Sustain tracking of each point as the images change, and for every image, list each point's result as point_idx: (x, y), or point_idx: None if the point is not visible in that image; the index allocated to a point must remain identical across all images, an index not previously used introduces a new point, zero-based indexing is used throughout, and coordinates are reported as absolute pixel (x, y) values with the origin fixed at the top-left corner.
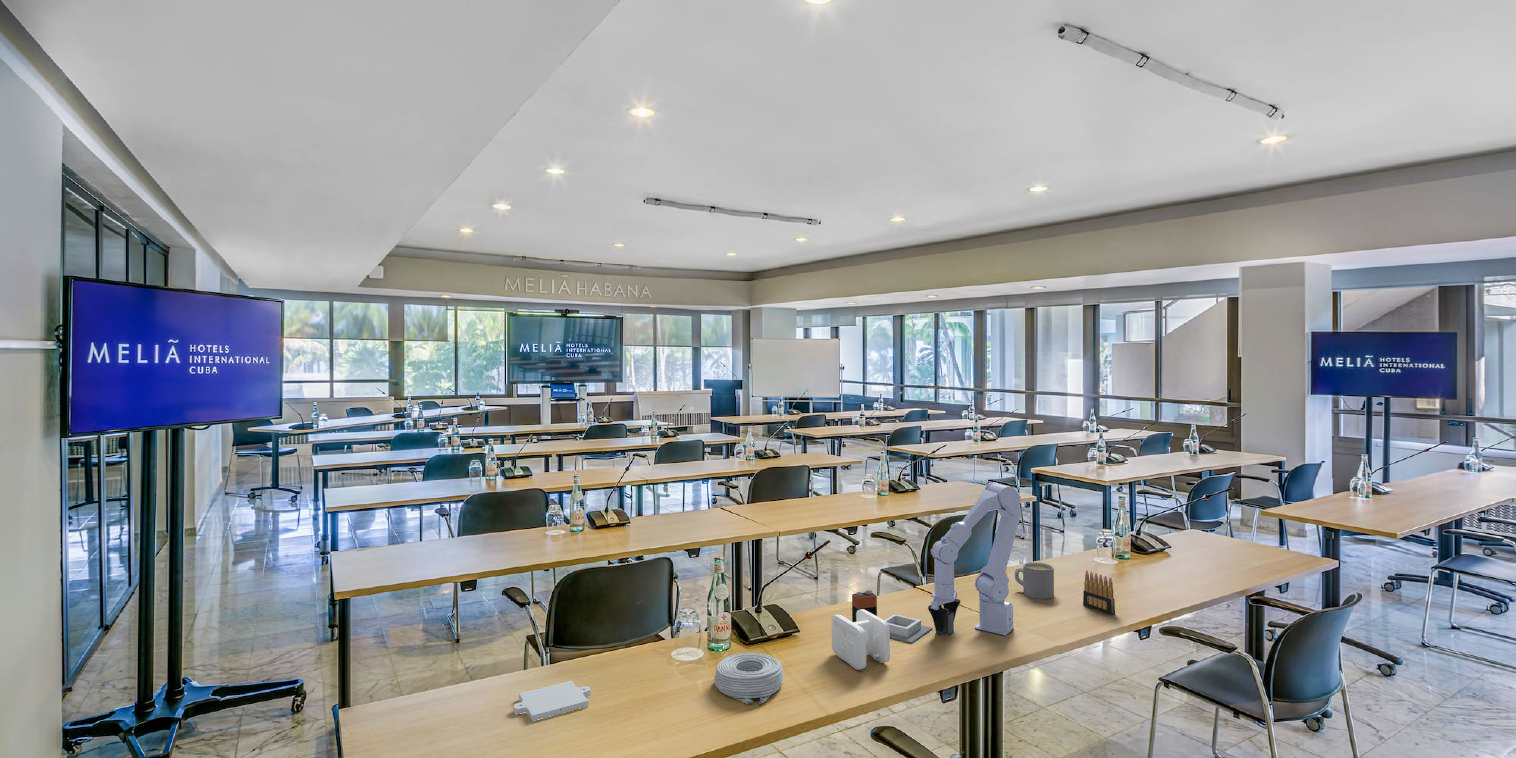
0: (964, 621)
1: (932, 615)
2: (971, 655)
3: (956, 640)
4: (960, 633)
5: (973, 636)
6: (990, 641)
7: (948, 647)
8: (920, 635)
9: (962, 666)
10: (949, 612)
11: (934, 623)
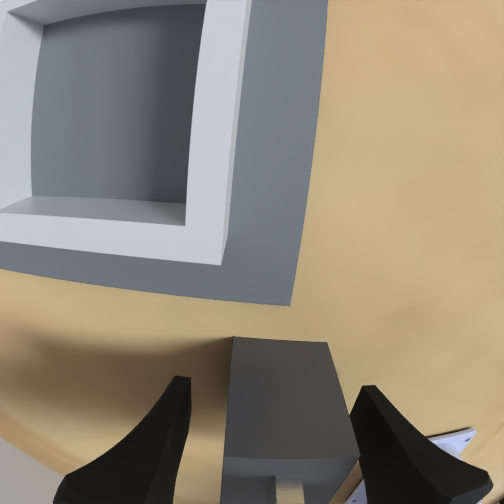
0: (473, 381)
1: (110, 455)
2: None
3: (192, 433)
4: None
5: None
6: None
7: (90, 415)
8: (90, 280)
9: (17, 441)
10: (308, 499)
11: (155, 406)
